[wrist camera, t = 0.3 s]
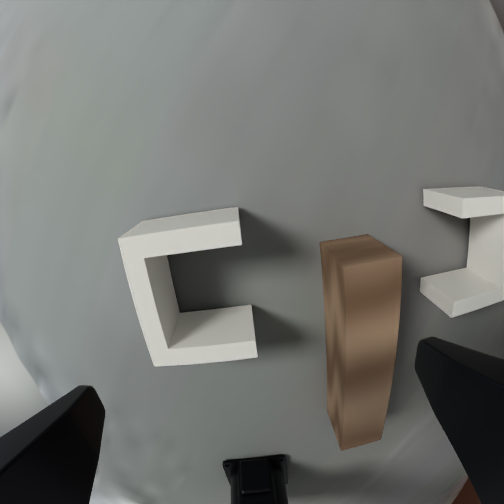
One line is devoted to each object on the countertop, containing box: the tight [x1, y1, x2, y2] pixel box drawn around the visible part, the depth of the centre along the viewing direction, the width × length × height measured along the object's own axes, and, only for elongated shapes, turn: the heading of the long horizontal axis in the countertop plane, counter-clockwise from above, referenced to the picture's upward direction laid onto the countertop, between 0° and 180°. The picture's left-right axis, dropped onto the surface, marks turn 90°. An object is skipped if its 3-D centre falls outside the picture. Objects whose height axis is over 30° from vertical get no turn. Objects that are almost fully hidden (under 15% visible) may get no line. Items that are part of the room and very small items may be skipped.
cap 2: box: [420, 186, 504, 318], centre depth 18 cm, size 8×6×4 cm
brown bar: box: [320, 234, 402, 451], centre depth 20 cm, size 16×4×5 cm, turn 9°
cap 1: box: [118, 207, 258, 366], centre depth 18 cm, size 8×6×4 cm
